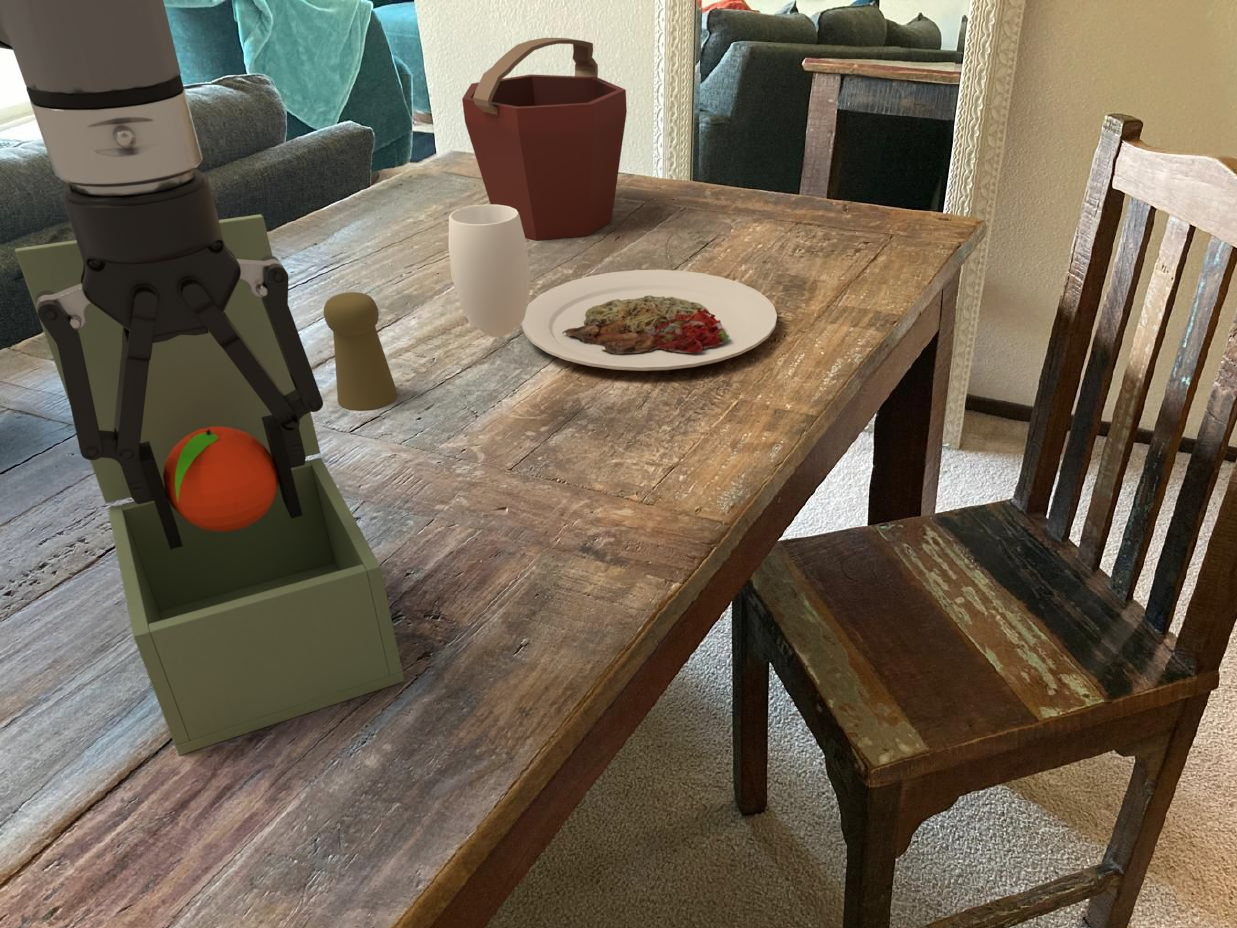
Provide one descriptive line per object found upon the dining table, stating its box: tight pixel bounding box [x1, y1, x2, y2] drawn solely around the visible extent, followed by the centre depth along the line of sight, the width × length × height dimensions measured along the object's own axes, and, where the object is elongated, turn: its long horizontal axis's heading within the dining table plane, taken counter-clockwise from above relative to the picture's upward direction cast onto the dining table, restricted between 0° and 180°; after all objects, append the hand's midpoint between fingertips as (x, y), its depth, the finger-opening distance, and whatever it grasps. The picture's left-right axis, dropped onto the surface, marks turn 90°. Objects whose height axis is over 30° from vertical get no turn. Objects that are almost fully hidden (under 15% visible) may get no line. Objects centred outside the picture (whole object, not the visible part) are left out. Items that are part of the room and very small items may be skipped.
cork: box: [323, 291, 399, 411], centre depth 111 cm, size 6×6×11 cm
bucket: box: [461, 37, 628, 241], centre depth 156 cm, size 24×22×25 cm
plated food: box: [520, 269, 778, 372], centre depth 129 cm, size 30×30×3 cm
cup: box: [447, 203, 531, 338], centre depth 105 cm, size 7×7×21 cm
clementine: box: [163, 427, 278, 532], centre depth 72 cm, size 8×7×7 cm
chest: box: [107, 457, 405, 756], centre depth 77 cm, size 17×15×10 cm
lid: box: [14, 214, 321, 504], centre depth 76 cm, size 18×15×1 cm
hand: (234, 522), depth 74 cm, fingers closed on clementine, 7 cm apart
